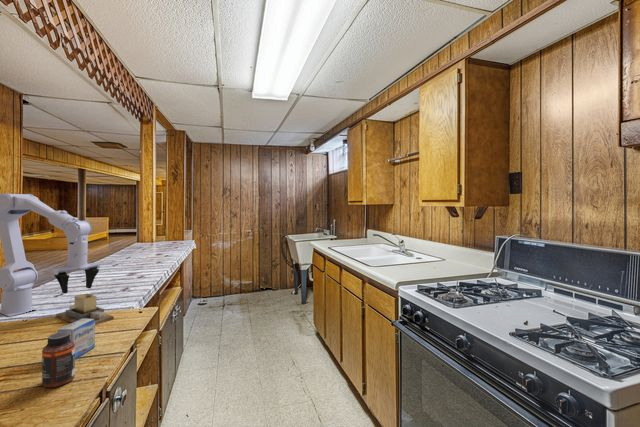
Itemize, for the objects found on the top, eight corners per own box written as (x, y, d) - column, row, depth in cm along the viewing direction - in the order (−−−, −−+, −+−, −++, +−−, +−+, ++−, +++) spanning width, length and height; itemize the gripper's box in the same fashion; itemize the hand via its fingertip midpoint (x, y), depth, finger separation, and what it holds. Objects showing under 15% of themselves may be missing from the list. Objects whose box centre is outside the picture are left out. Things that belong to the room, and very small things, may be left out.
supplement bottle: (81, 375, 75) (81, 330, 75) (58, 390, 69) (58, 341, 69) (59, 373, 76) (59, 328, 75) (34, 387, 70) (35, 339, 70)
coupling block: (83, 318, 107) (84, 299, 107) (74, 315, 110) (74, 296, 109) (96, 315, 111) (96, 296, 110) (86, 311, 113) (87, 293, 113)
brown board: (56, 316, 110) (56, 308, 110) (84, 309, 118) (84, 301, 118) (85, 327, 102) (85, 319, 102) (113, 319, 110) (113, 310, 110)
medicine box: (72, 361, 81) (73, 329, 81) (56, 360, 82) (56, 329, 81) (95, 347, 89) (95, 318, 89) (80, 346, 89) (80, 317, 89)
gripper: (59, 258, 103) (58, 297, 104) (105, 252, 116) (104, 287, 117) (49, 255, 106) (48, 293, 107) (94, 250, 119) (94, 284, 120)
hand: (77, 290), depth 112 cm, fingers open, 7 cm apart
